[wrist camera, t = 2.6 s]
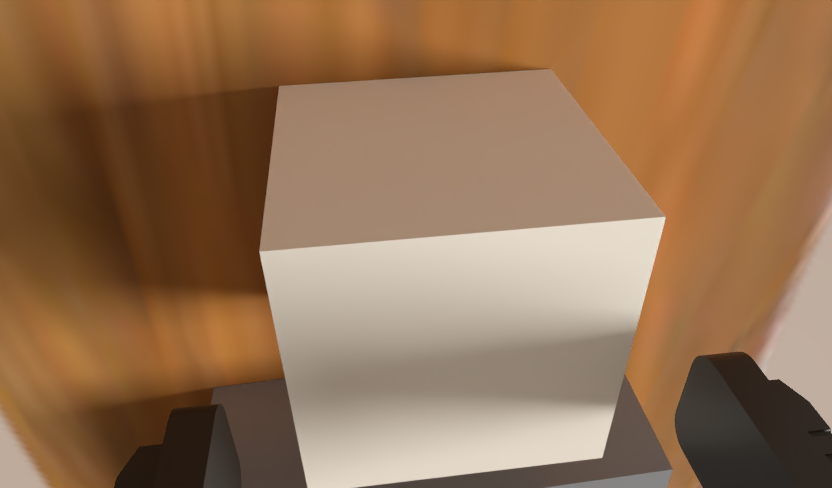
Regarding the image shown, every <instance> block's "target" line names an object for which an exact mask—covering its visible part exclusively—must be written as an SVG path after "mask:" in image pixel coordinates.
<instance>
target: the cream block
mask: <svg viewBox="0 0 832 488" xmlns="http://www.w3.org/2000/svg"><path fill="white" fill-rule="evenodd" d="M665 218H666V216H665V215H664V214H663V212H662V211H661V210H660V208H659V207H658V206H657V205H656V203H655V202H654V201H653V199H652V198H651V197H650V196H649V194H648V193H647V192H646V191H645V189H644V188H643V187H642V185H641V184H640V183H639V182H638V180H637V179H636V178H635V176H634V175H633V174H632V173H631V171H630V170H629V169H628V167H627V166H626V165H625V164H624V162H623V161H622V160H621V158H620V157H619V156H618V155H617V153H616V152H615V151H614V149H613V148H612V147H611V146H610V144H609V143H608V142H607V140H606V139H605V138H604V137H603V135H602V134H601V133H600V131H599V130H598V129H597V128H596V126H595V125H594V124H593V122H592V121H591V120H590V119H589V117H588V116H587V115H586V113H585V112H584V111H583V110H582V108H581V107H580V106H579V104H578V103H577V102H576V101H575V99H574V98H573V97H572V95H571V94H570V93H569V92H568V90H567V89H566V88H565V86H564V85H563V84H562V83H561V81H560V80H559V79H558V77H557V76H556V75H555V74H554V72H553V71H552V70H551V69H542V70H526V71H510V72H494V73H478V74H462V75H446V76H430V77H414V78H399V79H383V80H367V81H351V82H335V83H319V84H303V85H287V86H279V91H278V99H277V108H276V116H275V124H274V133H273V141H272V150H271V158H270V166H269V175H268V183H267V191H266V200H265V208H264V216H263V225H262V233H261V242H260V250H259V253H260V258H261V263H262V267H263V272H264V277H265V282H266V287H267V292H268V297H269V302H270V307H271V312H272V316H273V321H274V326H275V331H276V336H277V341H278V346H279V351H280V356H281V361H282V365H283V370H284V375H285V380H286V385H287V390H288V395H289V400H290V405H291V410H292V414H293V419H294V424H295V429H296V434H297V439H298V444H299V449H300V454H301V459H302V463H303V468H304V473H305V478H306V483H307V488H356V487H364V486H372V485H381V484H389V483H397V482H406V481H414V480H422V479H431V478H439V477H447V476H455V475H464V474H472V473H480V472H489V471H497V470H505V469H514V468H522V467H530V466H539V465H547V464H555V463H564V462H572V461H580V460H589V459H597V458H602V457H603V453H604V450H605V446H606V442H607V438H608V434H609V431H610V427H611V423H612V419H613V415H614V412H615V408H616V404H617V400H618V397H619V393H620V389H621V385H622V381H623V378H624V374H625V370H626V366H627V362H628V359H629V355H630V351H631V347H632V343H633V340H634V336H635V332H636V328H637V325H638V321H639V317H640V313H641V309H642V306H643V302H644V298H645V294H646V290H647V287H648V283H649V279H650V275H651V272H652V268H653V264H654V260H655V256H656V253H657V249H658V245H659V241H660V237H661V234H662V230H663V226H664V222H665Z"/></svg>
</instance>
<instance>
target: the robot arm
mask: <svg viewBox="0 0 832 488" xmlns="http://www.w3.org/2000/svg"><path fill="white" fill-rule="evenodd" d="M675 428H676V434H677V438H678V441H679V444H680V446H681V448H682V450H683V452H684V454H685V456H686V458H687V459H688V461H689V463H690V465H691V467H692V469H693V470H694V472H695V474H696V476H697V478H698V480H699V481H700V483H701V485H702V487H703V488H832V434H831V431H830V428H829V426H828V425H827V424H826V422H825V421H824V420H823V419H822V418H821V416H820V415H819V414H818V412H817V411H816V410H815V409H814V407H813V406H812V405H811V404H810V402H808V401H807V400H806V399H805V398H803V397H802V396H801V395H799V394H798V393H797V392H795V391H794V390H793V389H791V388H790V387H789V386H787V385H786V384H784V383H783V382H782V381H780V380H779V379H778V380H768V379H767V377H766V376H765V375H764V373H763V372H762V371H761V369H760V368H759V367H758V365H757V364H756V363H755V361H754V360H753V359H752V358H751V357H750V356H749V355H748V354H746V353H744V352H732V353H722V354H712V355H703V356H698V357H696V358H695V359H694V361H693V363H692V366H691V368H690V371H689V374H688V377H687V380H686V383H685V386H684V389H683V392H682V395H681V398H680V401H679V404H678V407H677V410H676V414H675ZM114 488H241V469H240V462H239V458H238V454H237V451H236V447H235V444H234V440H233V437H232V433H231V430H230V426H229V423H228V419H227V416H226V412H225V409H224V407H223V405H222V404H213V405H204V406H194V407H184V408H175V409H174V410H172V412H171V414H170V417H169V420H168V424H167V429H166V433H165V437H164V441H163V444H161V445H152V446H143V447H139V448H138V449H137V451H136V452H135V454H134V455H133V456H132V458H131V459H130V460H129V462H128V463H127V465H126V466H125V467H124V469H123V470H122V471H121V473H120V474H119V476H118V477H117V480H116V483H115V486H114Z"/></svg>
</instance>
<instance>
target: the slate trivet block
mask: <svg viewBox="0 0 832 488" xmlns="http://www.w3.org/2000/svg"><path fill="white" fill-rule="evenodd" d="M213 404H222V405H223V407H224V409H225V412H226V416H227V419H228V423H229V426H230V430H231V433H232V437H233V440H234V444H235V447H236V451H237V454H238V458H239V462H240V469H241V488H307V483H306V478H305V473H304V468H303V463H302V459H301V454H300V449H299V444H298V439H297V434H296V429H295V424H294V419H293V414H292V410H291V405H290V400H289V395H288V390H287V385H286V380H285V378H284V379H277V380H269V381H261V382H253V383H245V384H238V385H230V386H222V387H214V389H213V395H212V401H211V405H213ZM672 470H673V469H672V467H671V465H670V463H669V461H668V459H667V457H666V455H665V453H664V451H663V449H662V447H661V445H660V443H659V441H658V439H657V437H656V435H655V433H654V431H653V429H652V427H651V425H650V423H649V421H648V419H647V417H646V415H645V413H644V411H643V409H642V407H641V405H640V403H639V401H638V399H637V397H636V395H635V393H634V391H633V389H632V387H631V385H630V383H629V382H628V380H627V378H626V376H625V374H624V378H623V381H622V385H621V389H620V393H619V397H618V400H617V404H616V408H615V412H614V415H613V419H612V423H611V427H610V431H609V434H608V438H607V442H606V446H605V450H604V453H603V457H602V458H597V459H589V460H580V461H572V462H564V463H555V464H547V465H539V466H530V467H522V468H514V469H505V470H497V471H489V472H480V473H472V474H464V475H455V476H447V477H439V478H431V479H422V480H414V481H406V482H397V483H389V484H381V485H372V486H364V487H356V488H667V486H668V483H669V480H670V477H671V473H672Z"/></svg>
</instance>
